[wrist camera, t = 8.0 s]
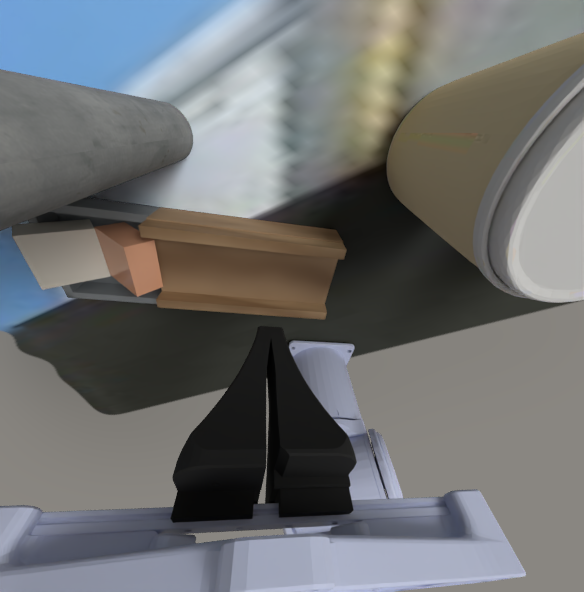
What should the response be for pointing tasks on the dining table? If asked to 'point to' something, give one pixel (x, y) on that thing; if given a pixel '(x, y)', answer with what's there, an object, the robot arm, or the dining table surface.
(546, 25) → the dining table surface
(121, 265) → the tile
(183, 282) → the board
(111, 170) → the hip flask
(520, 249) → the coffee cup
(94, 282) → the tray
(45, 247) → the tile
